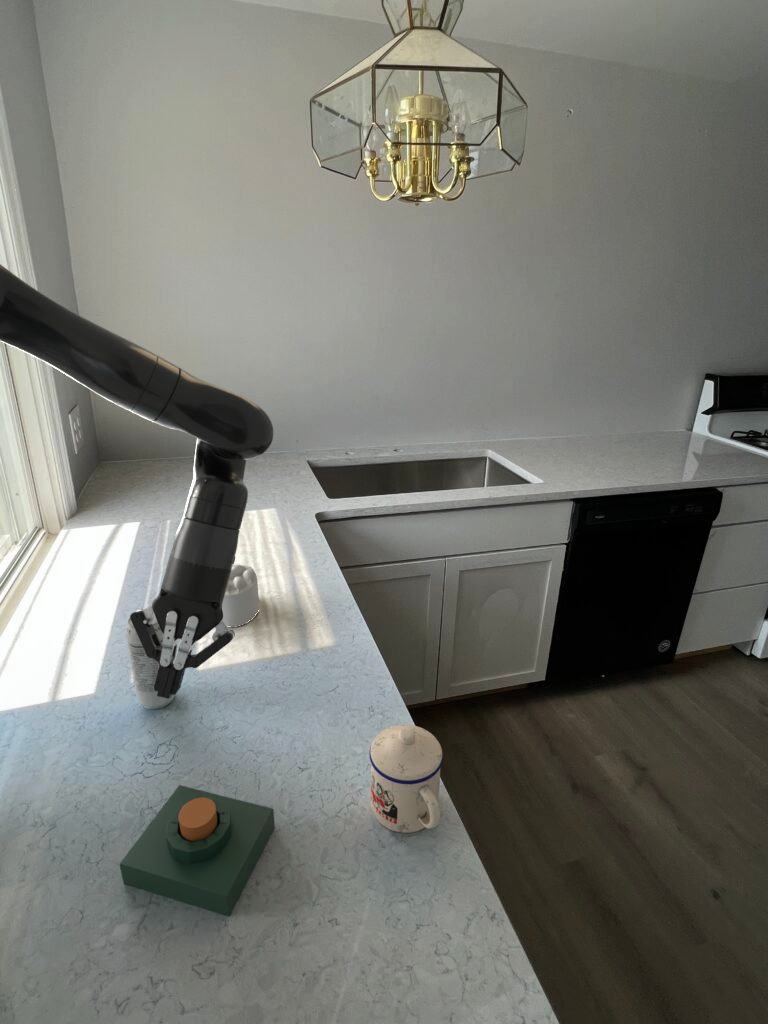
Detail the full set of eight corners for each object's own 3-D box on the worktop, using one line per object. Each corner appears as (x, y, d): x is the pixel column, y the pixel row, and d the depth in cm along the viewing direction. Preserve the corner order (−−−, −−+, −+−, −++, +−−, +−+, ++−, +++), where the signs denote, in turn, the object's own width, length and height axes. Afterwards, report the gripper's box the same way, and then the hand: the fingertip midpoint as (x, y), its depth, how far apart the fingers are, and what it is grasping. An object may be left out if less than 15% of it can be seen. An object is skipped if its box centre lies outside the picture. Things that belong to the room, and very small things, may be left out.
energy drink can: (180, 685, 93) (169, 607, 88) (174, 709, 88) (162, 627, 82) (142, 688, 92) (129, 609, 87) (133, 713, 87) (118, 631, 81)
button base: (123, 884, 61) (116, 851, 60) (182, 803, 71) (177, 773, 70) (229, 917, 58) (225, 883, 57) (275, 827, 68) (272, 797, 66)
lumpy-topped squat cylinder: (255, 592, 123) (252, 557, 120) (263, 622, 112) (261, 584, 109) (206, 599, 120) (202, 563, 117) (209, 631, 108) (205, 592, 105)
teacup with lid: (357, 791, 73) (357, 720, 69) (417, 767, 77) (420, 699, 73) (400, 869, 63) (403, 792, 59) (466, 837, 67) (473, 763, 63)
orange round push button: (173, 836, 62) (171, 823, 61) (193, 807, 65) (191, 794, 65) (205, 845, 61) (203, 831, 60) (224, 815, 65) (222, 801, 64)
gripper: (137, 547, 64) (97, 693, 64) (250, 574, 66) (212, 718, 65) (157, 544, 72) (122, 675, 71) (258, 568, 73) (224, 698, 72)
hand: (165, 695), depth 68 cm, fingers closed
